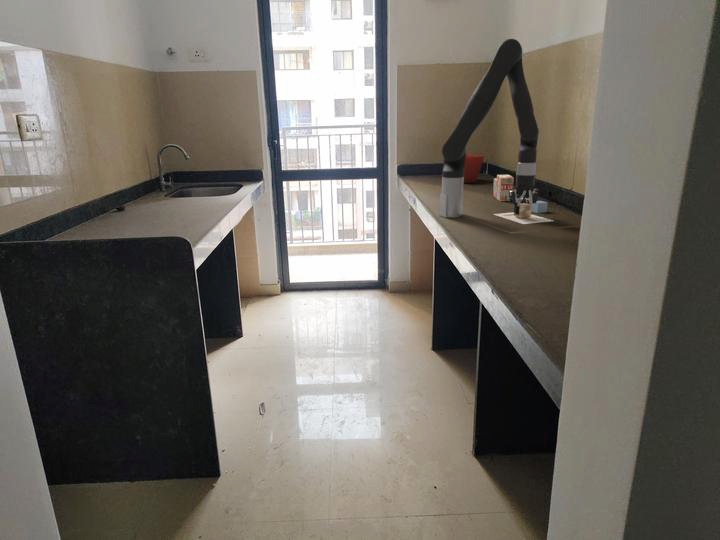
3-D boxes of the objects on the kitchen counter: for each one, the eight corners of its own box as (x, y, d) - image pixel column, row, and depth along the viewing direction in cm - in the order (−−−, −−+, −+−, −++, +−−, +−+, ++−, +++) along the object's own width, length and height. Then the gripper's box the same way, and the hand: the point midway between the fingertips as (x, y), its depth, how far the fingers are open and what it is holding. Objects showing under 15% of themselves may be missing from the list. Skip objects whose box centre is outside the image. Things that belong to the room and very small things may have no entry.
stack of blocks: (492, 195, 267) (494, 172, 263) (504, 195, 266) (505, 172, 263) (499, 202, 247) (501, 177, 243) (512, 201, 246) (513, 177, 242)
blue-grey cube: (537, 214, 215) (538, 203, 213) (530, 212, 219) (531, 201, 218) (546, 213, 216) (547, 202, 215) (539, 211, 221) (540, 200, 219)
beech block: (520, 217, 203) (521, 205, 202) (513, 215, 208) (514, 203, 206) (530, 216, 204) (531, 205, 203) (523, 214, 209) (524, 203, 208)
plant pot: (441, 181, 324) (442, 155, 319) (465, 179, 332) (466, 154, 327) (459, 184, 308) (460, 157, 303) (483, 182, 315) (484, 155, 310)
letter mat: (523, 225, 194) (523, 224, 194) (492, 215, 214) (492, 214, 214) (554, 222, 198) (554, 220, 198) (521, 212, 218) (521, 211, 218)
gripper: (516, 175, 195) (513, 217, 200) (546, 173, 199) (542, 214, 204) (505, 173, 202) (502, 213, 207) (534, 171, 206) (531, 211, 211)
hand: (522, 213), depth 206 cm, fingers closed on beech block, 5 cm apart
